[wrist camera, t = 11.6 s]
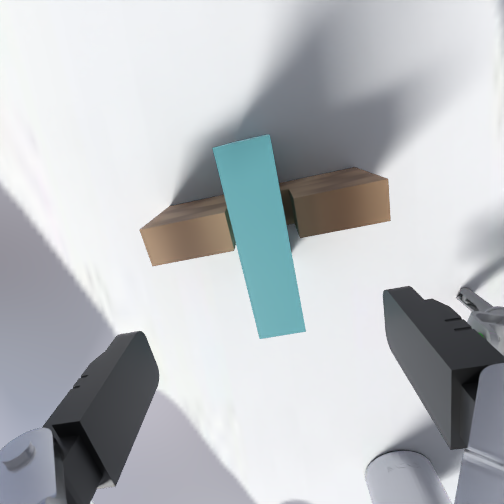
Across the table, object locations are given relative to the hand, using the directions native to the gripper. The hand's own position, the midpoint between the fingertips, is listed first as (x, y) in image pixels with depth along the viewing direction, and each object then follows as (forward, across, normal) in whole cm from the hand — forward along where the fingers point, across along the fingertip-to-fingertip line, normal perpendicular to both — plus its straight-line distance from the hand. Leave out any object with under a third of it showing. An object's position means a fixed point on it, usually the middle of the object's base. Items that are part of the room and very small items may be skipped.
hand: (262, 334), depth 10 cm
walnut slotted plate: (+21, 0, 0) cm, 21 cm away
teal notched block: (+21, 0, 0) cm, 21 cm away
